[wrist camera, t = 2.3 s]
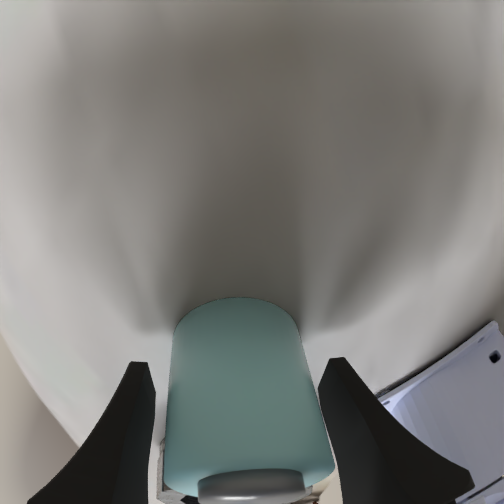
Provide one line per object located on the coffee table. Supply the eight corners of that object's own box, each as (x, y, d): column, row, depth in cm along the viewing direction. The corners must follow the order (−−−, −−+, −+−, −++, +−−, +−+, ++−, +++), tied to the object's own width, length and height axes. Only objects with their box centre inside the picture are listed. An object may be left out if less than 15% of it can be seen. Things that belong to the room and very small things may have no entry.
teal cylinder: (246, 273, 11) (275, 464, 5) (320, 344, 13) (363, 482, 8) (147, 340, 12) (128, 495, 7) (229, 392, 15) (240, 517, 9)
